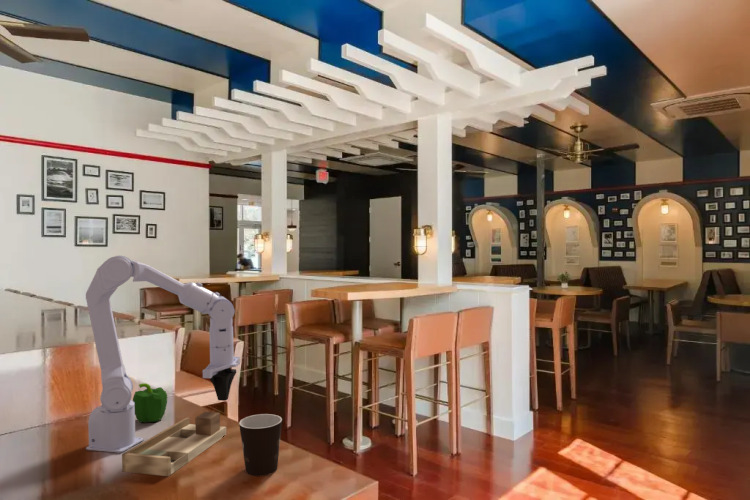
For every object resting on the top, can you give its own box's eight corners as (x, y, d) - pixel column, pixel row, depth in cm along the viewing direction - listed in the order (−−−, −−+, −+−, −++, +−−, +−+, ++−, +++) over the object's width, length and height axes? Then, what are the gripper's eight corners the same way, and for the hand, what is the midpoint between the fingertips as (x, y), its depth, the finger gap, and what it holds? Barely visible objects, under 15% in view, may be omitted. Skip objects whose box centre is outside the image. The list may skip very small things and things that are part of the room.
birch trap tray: (122, 471, 107) (121, 454, 107) (186, 431, 129) (186, 417, 129) (168, 476, 104) (168, 458, 104) (226, 434, 127) (226, 420, 127)
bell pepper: (172, 414, 143) (171, 378, 143) (161, 424, 134) (160, 386, 134) (141, 415, 142) (140, 379, 142) (128, 426, 134) (127, 387, 134)
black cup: (273, 480, 102) (272, 429, 102) (232, 476, 104) (231, 427, 104) (294, 456, 113) (293, 410, 113) (257, 453, 115) (256, 408, 115)
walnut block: (195, 434, 122) (195, 417, 122) (205, 428, 126) (204, 411, 126) (211, 435, 121) (210, 418, 121) (219, 429, 125) (219, 412, 125)
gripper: (221, 352, 122) (222, 409, 122) (249, 340, 136) (251, 392, 136) (194, 351, 123) (195, 408, 124) (225, 339, 138) (226, 390, 138)
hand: (222, 399), depth 130 cm, fingers closed
